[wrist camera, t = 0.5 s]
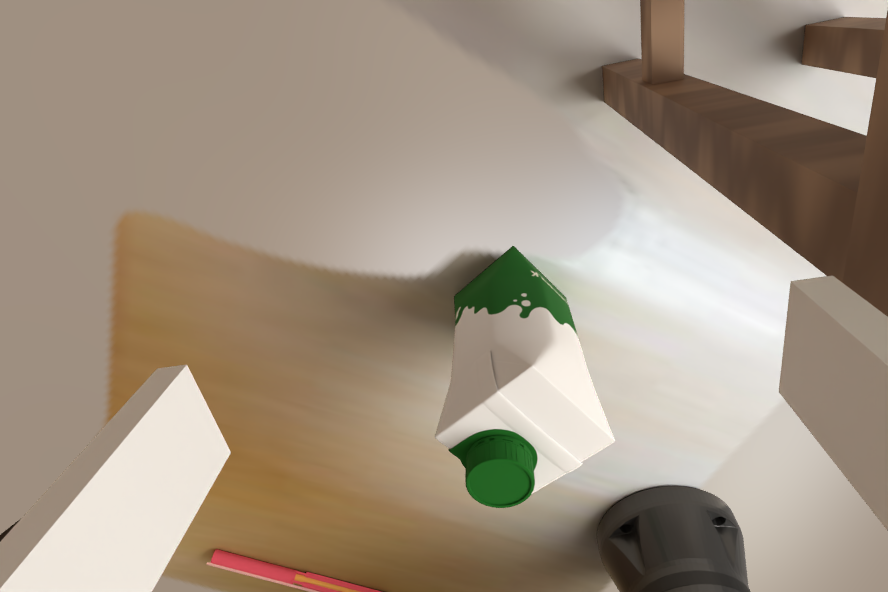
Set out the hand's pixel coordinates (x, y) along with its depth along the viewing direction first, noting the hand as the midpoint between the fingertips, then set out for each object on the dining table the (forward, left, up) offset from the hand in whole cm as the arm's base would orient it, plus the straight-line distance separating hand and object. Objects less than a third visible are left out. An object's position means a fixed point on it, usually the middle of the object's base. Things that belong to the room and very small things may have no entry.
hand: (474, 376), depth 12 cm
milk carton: (-16, 0, -33) cm, 36 cm away
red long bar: (-52, +31, -33) cm, 69 cm away
